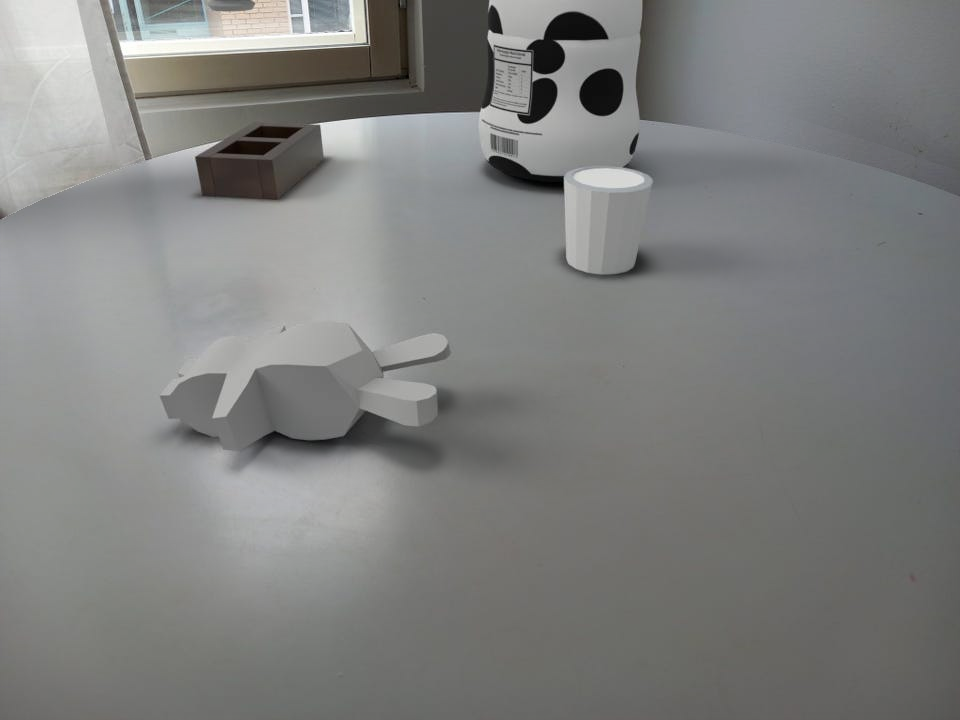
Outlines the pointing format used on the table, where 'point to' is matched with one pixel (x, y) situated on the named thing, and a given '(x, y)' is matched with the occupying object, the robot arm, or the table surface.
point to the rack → (260, 160)
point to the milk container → (560, 86)
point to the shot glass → (604, 217)
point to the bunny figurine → (300, 384)
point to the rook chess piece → (231, 5)
